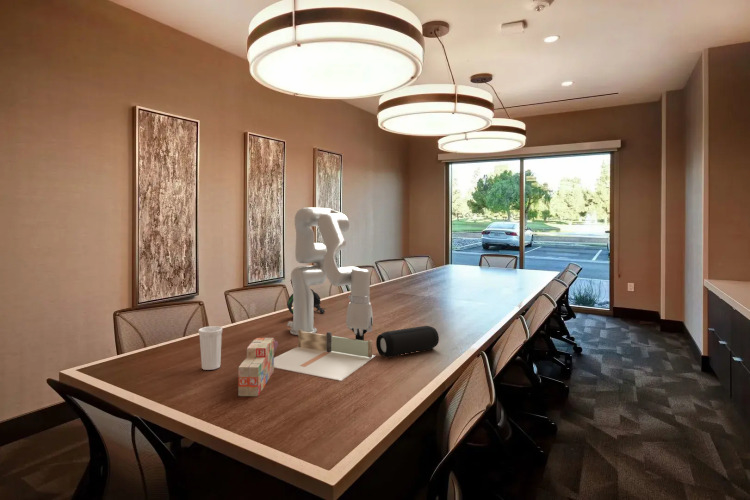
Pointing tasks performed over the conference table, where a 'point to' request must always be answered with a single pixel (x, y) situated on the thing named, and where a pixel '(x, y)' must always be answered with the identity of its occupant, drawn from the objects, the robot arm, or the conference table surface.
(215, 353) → the cup
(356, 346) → the folding fence panel
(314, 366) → the card
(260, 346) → the stack of blocks
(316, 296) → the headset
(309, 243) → the robot arm
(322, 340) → the fixed fence section
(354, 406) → the conference table surface
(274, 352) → the video game controller
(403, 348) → the portable speaker
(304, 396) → the conference table surface
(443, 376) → the conference table surface
